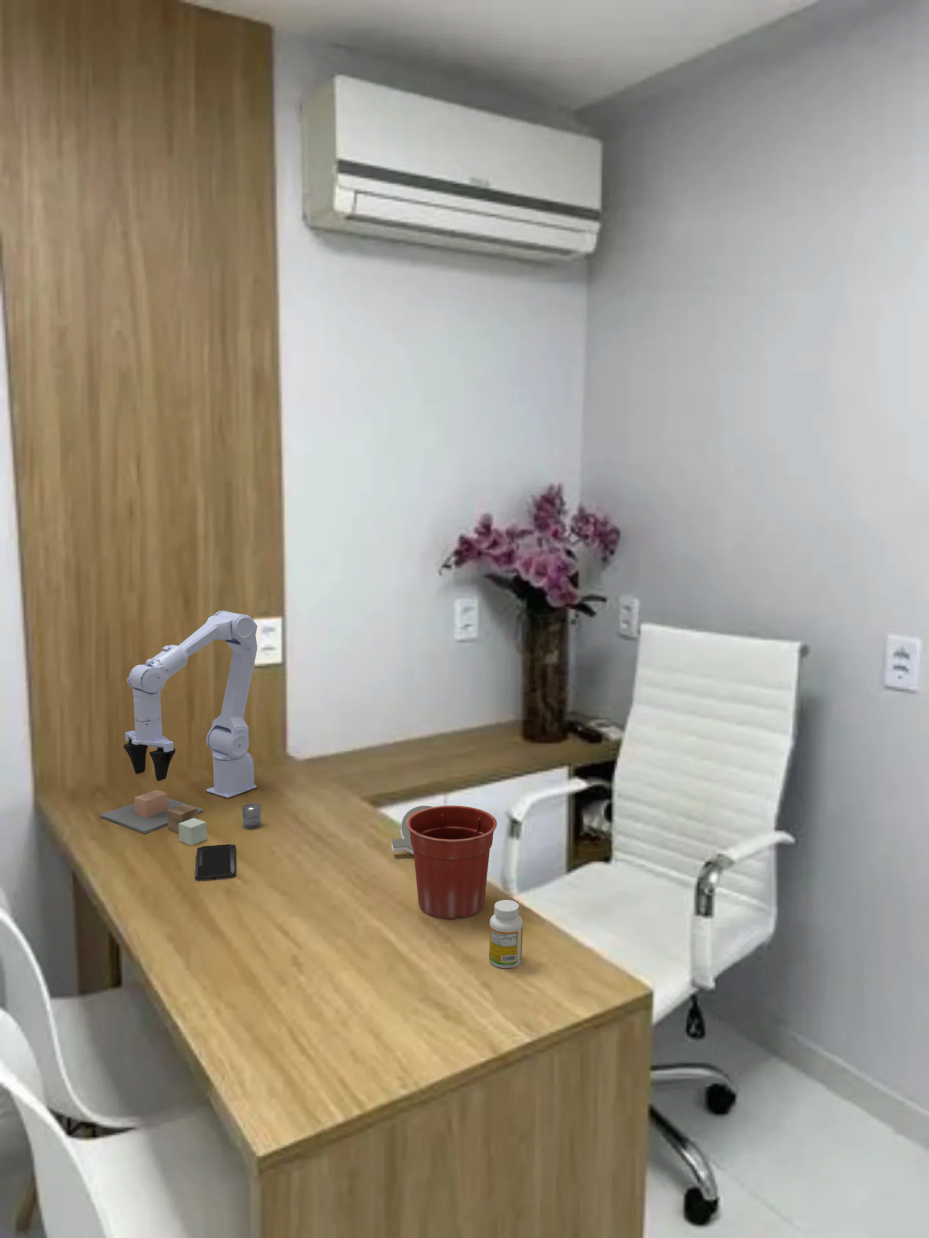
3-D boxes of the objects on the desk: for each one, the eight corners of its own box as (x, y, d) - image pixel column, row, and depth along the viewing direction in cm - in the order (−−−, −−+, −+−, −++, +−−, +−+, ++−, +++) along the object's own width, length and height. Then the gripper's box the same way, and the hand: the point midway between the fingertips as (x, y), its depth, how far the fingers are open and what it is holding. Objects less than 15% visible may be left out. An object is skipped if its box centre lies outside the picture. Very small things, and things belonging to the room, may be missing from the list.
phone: (235, 843, 196) (235, 874, 182) (235, 848, 197) (236, 879, 182) (196, 846, 194) (193, 877, 180) (196, 852, 195) (194, 883, 180)
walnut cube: (184, 823, 209) (183, 804, 208) (198, 827, 207) (197, 808, 206) (168, 829, 205) (167, 810, 205) (181, 834, 203) (180, 814, 202)
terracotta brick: (157, 806, 217) (156, 789, 216) (168, 810, 215) (167, 793, 214) (135, 813, 212) (134, 797, 211) (146, 818, 210) (145, 801, 209)
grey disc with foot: (394, 859, 190) (390, 804, 194) (389, 864, 197) (385, 811, 201) (466, 853, 193) (461, 799, 197) (459, 859, 200) (454, 806, 204)
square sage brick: (194, 835, 202) (193, 817, 202) (206, 839, 200) (206, 822, 200) (179, 841, 199) (178, 823, 198) (191, 845, 197) (191, 827, 196)
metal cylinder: (252, 821, 211) (251, 801, 210) (264, 825, 209) (264, 805, 208) (238, 826, 207) (238, 807, 207) (251, 830, 205) (250, 811, 205)
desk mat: (159, 797, 224) (158, 794, 224) (203, 811, 216) (203, 809, 215) (100, 817, 211) (99, 814, 211) (144, 833, 203) (144, 831, 202)
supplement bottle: (502, 948, 157) (503, 894, 155) (528, 959, 154) (529, 904, 152) (482, 961, 153) (483, 905, 151) (508, 973, 150) (510, 916, 148)
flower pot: (416, 931, 163) (417, 843, 160) (397, 889, 178) (398, 809, 175) (506, 920, 167) (508, 835, 164) (480, 880, 183) (482, 802, 180)
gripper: (112, 716, 211) (115, 774, 213) (153, 727, 202) (156, 787, 205) (139, 710, 216) (141, 766, 219) (180, 720, 208) (182, 778, 210)
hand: (150, 776), depth 212 cm, fingers open, 7 cm apart
